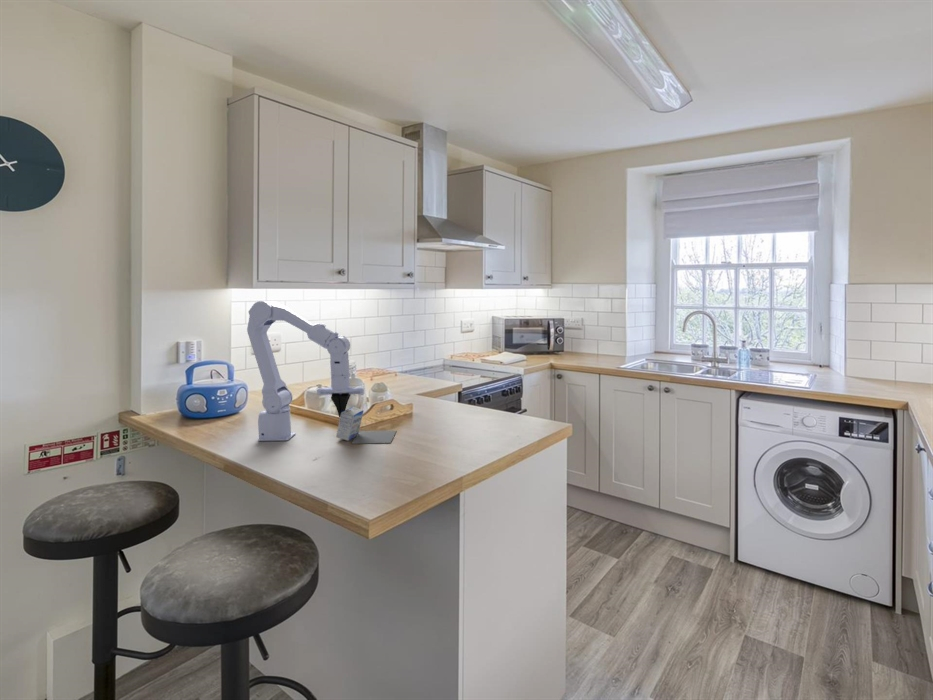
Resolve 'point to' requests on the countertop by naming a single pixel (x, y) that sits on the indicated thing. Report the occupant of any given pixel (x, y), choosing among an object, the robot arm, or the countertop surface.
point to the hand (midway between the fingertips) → (341, 416)
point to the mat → (374, 437)
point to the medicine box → (349, 423)
